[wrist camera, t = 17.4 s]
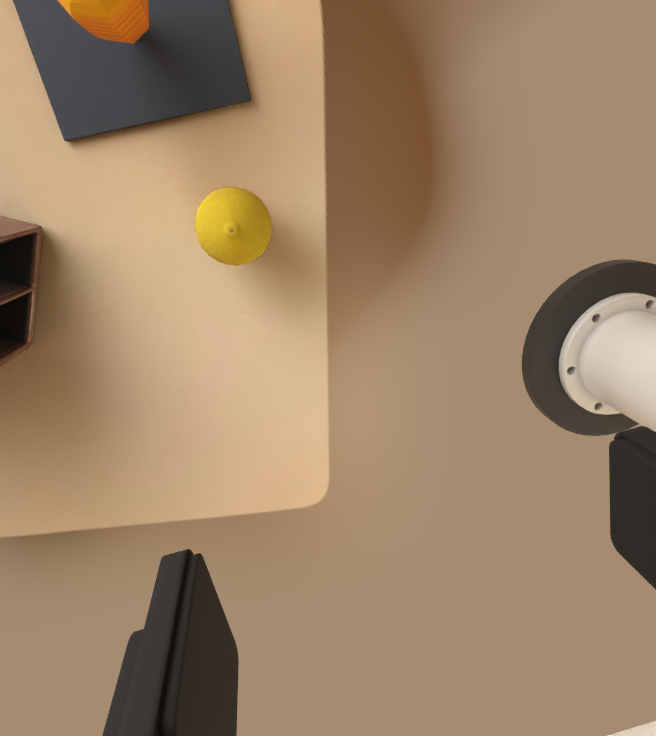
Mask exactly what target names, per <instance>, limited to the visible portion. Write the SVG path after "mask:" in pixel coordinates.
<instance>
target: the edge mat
mask: <svg viewBox="0 0 656 736" xmlns="http://www.w3.org/2000/svg"><path fill="white" fill-rule="evenodd" d="M13 2H14V4H15V7H16V10H17V13H18V15H19V18H20V21H21V23H22V26H23V29H24V32H25V34H26V37H27V40H28V42H29V45H30V48H31V51H32V53H33V56H34V59H35V62H36V64H37V67H38V70H39V72H40V75H41V78H42V81H43V83H44V86H45V89H46V91H47V94H48V97H49V100H50V102H51V105H52V108H53V110H54V113H55V116H56V119H57V121H58V124H59V127H60V130H61V132H62V135H63V138H64V140H65V141H71V140H75V139H80V138H84V137H89V136H94V135H98V134H103V133H107V132H112V131H116V130H121V129H125V128H130V127H135V126H139V125H144V124H148V123H153V122H157V121H162V120H167V119H171V118H176V117H180V116H185V115H189V114H194V113H199V112H203V111H208V110H212V109H217V108H221V107H226V106H231V105H235V104H240V103H244V102H249V101H251V96H250V92H249V88H248V83H247V79H246V75H245V71H244V67H243V63H242V58H241V54H240V50H239V46H238V42H237V37H236V33H235V29H234V25H233V21H232V17H231V12H230V8H229V4H228V0H148V7H149V29H148V30H147V31H146V32H145V33H144V34H143V35H142V36H141V37H140V38H139V39H138V40H137V41H136V42H135V43H134V44H131V43H123V42H116V41H109V40H104V39H101V38H98V37H95V36H94V35H93V34H91V33H90V32H89V31H87V30H86V29H85V28H83V27H82V26H81V25H80V24H79V23H78V22H76V21H75V20H74V19H73V18H72V17H71V15H70V14H69V13H68V12H67V11H66V10H65V9H64V7H63V6H62V5H61V4H60V3H59V2H58V1H57V0H13Z"/></svg>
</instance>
